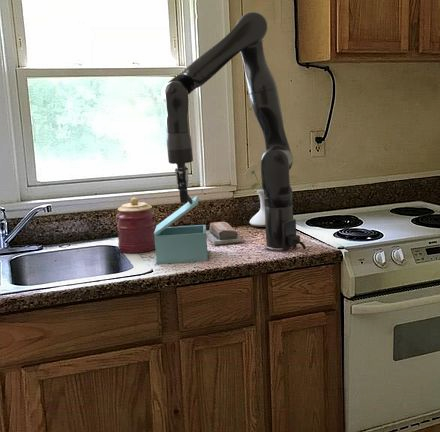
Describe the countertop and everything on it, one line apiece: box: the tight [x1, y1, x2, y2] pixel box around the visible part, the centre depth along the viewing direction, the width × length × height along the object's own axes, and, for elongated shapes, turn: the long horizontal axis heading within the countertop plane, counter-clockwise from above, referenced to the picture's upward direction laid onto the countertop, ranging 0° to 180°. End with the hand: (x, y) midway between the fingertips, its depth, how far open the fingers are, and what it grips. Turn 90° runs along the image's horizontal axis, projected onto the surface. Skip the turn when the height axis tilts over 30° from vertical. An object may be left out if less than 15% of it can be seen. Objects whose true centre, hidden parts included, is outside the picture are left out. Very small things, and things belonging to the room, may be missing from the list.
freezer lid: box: [154, 190, 199, 236], centre depth 201 cm, size 16×13×5 cm
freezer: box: [154, 224, 208, 265], centre depth 203 cm, size 16×13×9 cm
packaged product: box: [206, 221, 243, 246], centre depth 226 cm, size 18×5×10 cm
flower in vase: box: [243, 161, 266, 228], centre depth 243 cm, size 13×11×25 cm
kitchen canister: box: [115, 197, 157, 254], centre depth 216 cm, size 13×13×18 cm
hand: (184, 200), depth 201 cm, fingers closed on freezer lid, 5 cm apart
